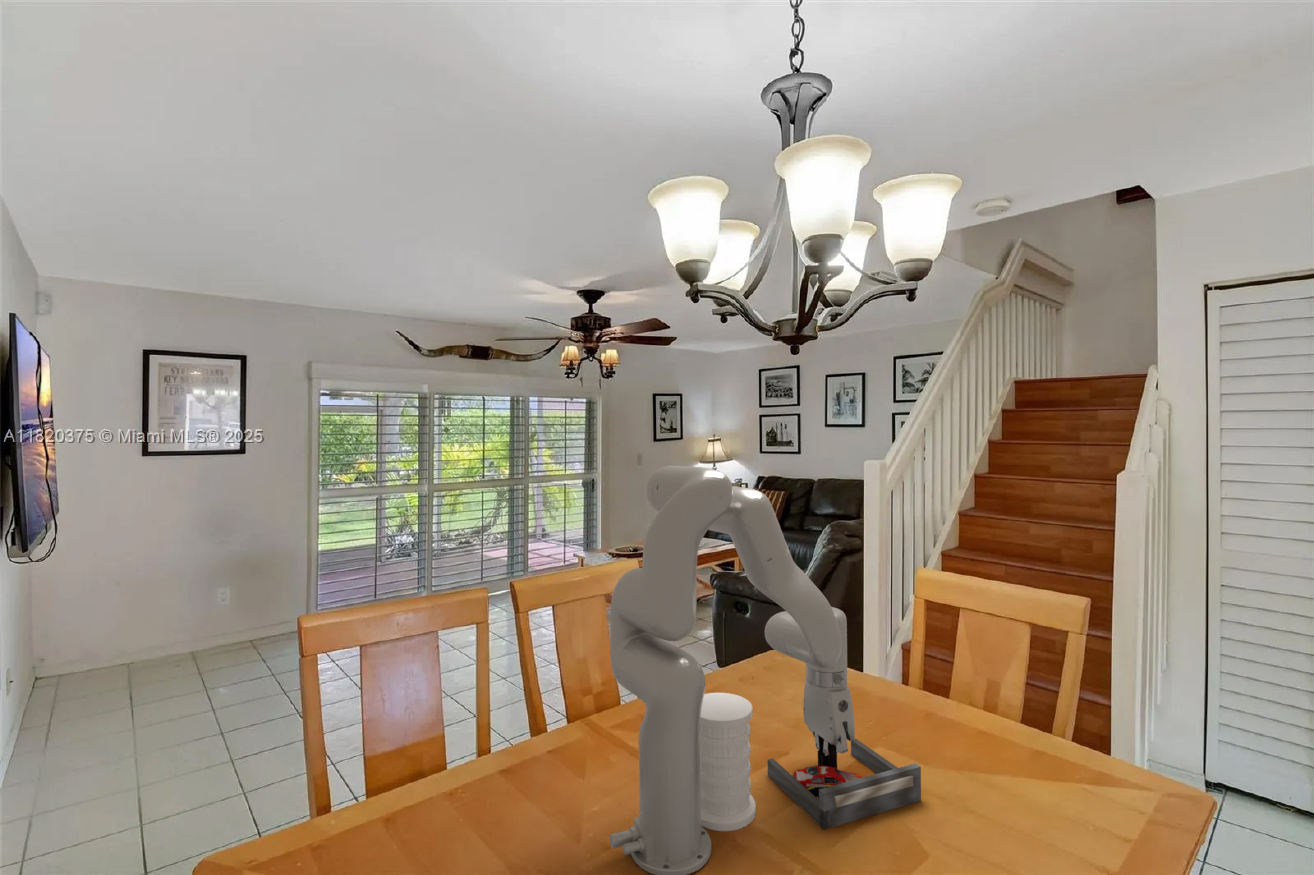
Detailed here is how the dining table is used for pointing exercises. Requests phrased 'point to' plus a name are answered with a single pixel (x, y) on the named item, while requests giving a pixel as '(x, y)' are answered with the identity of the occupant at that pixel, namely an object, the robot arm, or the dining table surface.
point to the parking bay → (854, 790)
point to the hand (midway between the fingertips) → (827, 771)
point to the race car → (822, 777)
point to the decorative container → (725, 762)
